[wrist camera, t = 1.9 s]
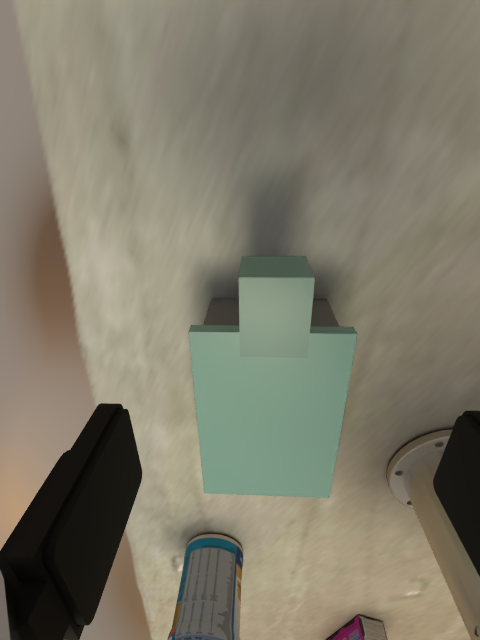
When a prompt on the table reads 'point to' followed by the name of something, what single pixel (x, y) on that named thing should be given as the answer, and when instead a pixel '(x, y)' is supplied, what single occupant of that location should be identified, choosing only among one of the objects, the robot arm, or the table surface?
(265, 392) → the lid
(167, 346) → the table surface
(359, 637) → the candy bar box
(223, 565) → the beverage bottle
